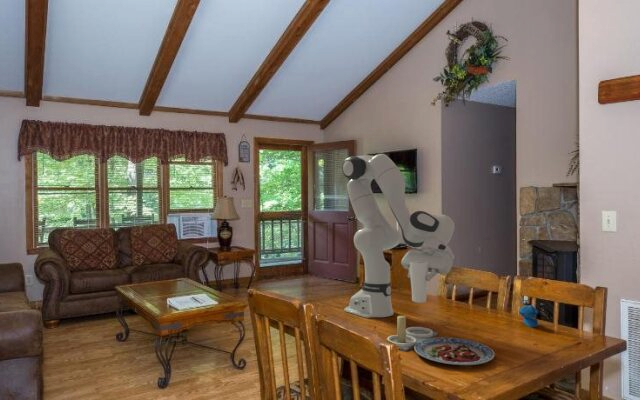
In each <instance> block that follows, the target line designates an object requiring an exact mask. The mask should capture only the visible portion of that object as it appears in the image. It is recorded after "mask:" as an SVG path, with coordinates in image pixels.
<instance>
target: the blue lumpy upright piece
mask: <svg viewBox="0 0 640 400" xmlns="http://www.w3.org/2000/svg"><path fill="white" fill-rule="evenodd" d="M518 313H519V314H520V315H521V316H522V317H523V324H525V325H526V326H528V327H529V328H537V327H538V326H539V325H538V324H539V323H538V319H537V318H536V317H537V314H539V311H538V310H537V309H536V307H535V306H534V305H532V304H531V305H524V306H522V307H521V308H520V309H519V311H518Z"/></svg>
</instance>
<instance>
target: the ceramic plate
mask: <svg viewBox="0 0 640 400" xmlns="http://www.w3.org/2000/svg"><path fill="white" fill-rule="evenodd" d="M413 348H414V351H415V352H416V354H417V355H419V356H421V357H422V358H425V359H427V360H429V361H434V362H437V363H442V364H447V365H454V366H456V365H457V366H473V365H481V364H485V363H488V362H490V361H492V360H493V359H494V358H495V352H494V350H493V349H492V348H490V347H489V346H488V345H485V344H484V343H480V342H478V341H474V340H471V339H464V338H457V337H432V338H430V339H425V340H422V341H419V342H418V343H416V344H415V346H414V347H413Z"/></svg>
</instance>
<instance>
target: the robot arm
mask: <svg viewBox="0 0 640 400" xmlns="http://www.w3.org/2000/svg"><path fill="white" fill-rule="evenodd" d="M341 166H342V168H341V169H342V174H343V176H344V177H345V178H346V179H348V180H349V181H348V182H347V185H346V188H347V193H348V197H349V201H350V204H351V206H352V209H353V212H354V215H355V218H356V219H357V220H358V222H360V223H361V224H363V225H364V228H361V229H359V230H357V231H355V234H354V236H353V244H354V245H353V246H354V247H355V249H357V250H358V251H359V253H360V254H361V257H362V259H363V263H364V281H363V282H360V283H359V284H360V285H359V286H362V287H361V289H360V290H358V292H356V293H355V294H353V295H352V296H351V297H350V300H349V305H348V306H346V307H345V308H344V309H343V310H344V312H346V313H350V314H353V315H356V316H359V317H362V318H367V319H369V318H388V317H391V316H393V315H394V314H395V313H394V310H393V309H394V308H393V306H392V305H393V304H392V299H391V298H392V297H391V295H392V294H391V293H392V283H391V265H390V263H389V262H388V261H387V260H386V259H385V255H384V251H387V250H391V249H393V248H395V247H397V246H399V244H400V242H401V236H402V239H403V241H404V243H405V244H406V245H407V246H408V247H409V246H410V247H412V249H408V250H407V252H406V253H405V255H404V256H403V258H402V259H401V261H400V263H401V265H402V267H403V269H405V270H408V273H407V278H409V279H411V277H410V262H411V261H421V262H419V263H426V262H428V275H426V277H425V279H426V281H428V282H431V280H432V279H433V278H434V277H435V276H437V275H438V274H443V275H448V274H449V273H450V272H451V270H452V266H453V264H454V262H453V261H454V260H455V254H454V253H453V251H452V249H451V248H450V246H448V244H449V243H450V241H451V239H452V237H453V234H454V233H455V232H454V231H455V222H454V221H453V219H452V218H451V217H450V216H448V215H446V214H437V215H436V214H431V213H428V212H426V211H423V210H417V211H414V212H413V213H412V214H410V211H409V210H408V208H407V205H406V202H405V201H406V200H405V194H406V193H405V192H406V181H405V178H404V175H403V173H402V171H401V170H400V169H399V167H398V165H396V163H395V162H394V161H393V160H392V159H391V158H390V157H389V156H388V155H387V154H384V153H377V154H375V155H367V154H364V155H353V156H348V157H347V158H345V159H344V161H343V162H342V165H341ZM372 183H376V184H377V185H378V187H379V189H380V190H381V192H382V194H383V196H384V198H385V199H386V202H387V204H388V206H389V208H390V210H391V212H392V214H393V216H394V218H395V219H396V223H398V226H399V228H400V230H401V234H402V235H401V234H400V231H399V229H397V228H396V227H394V225H392V224H391V223H390V222H389V221H388V220H387V218H386V217H385V216H384V214H383V212H382V211H381V209H380V207H379V205H378V203H377V200H376V197H375V195H374V193H373V190H372V185H371V184H372ZM425 261H426V262H425Z"/></svg>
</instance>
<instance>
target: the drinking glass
mask: <svg viewBox="0 0 640 400" xmlns="http://www.w3.org/2000/svg"><path fill="white" fill-rule="evenodd" d="M419 262H421V261H411V262H410V277H411V278H410V286H411V287H410V288H411V301H412V302H414V303H420V304H421V303H422V304H423V303H426V301H427V294H428V293H427V292H428V282H429V281H426V279H425V277H426V275H429V272H428V262H426V261H425V262H426V263H419Z"/></svg>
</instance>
